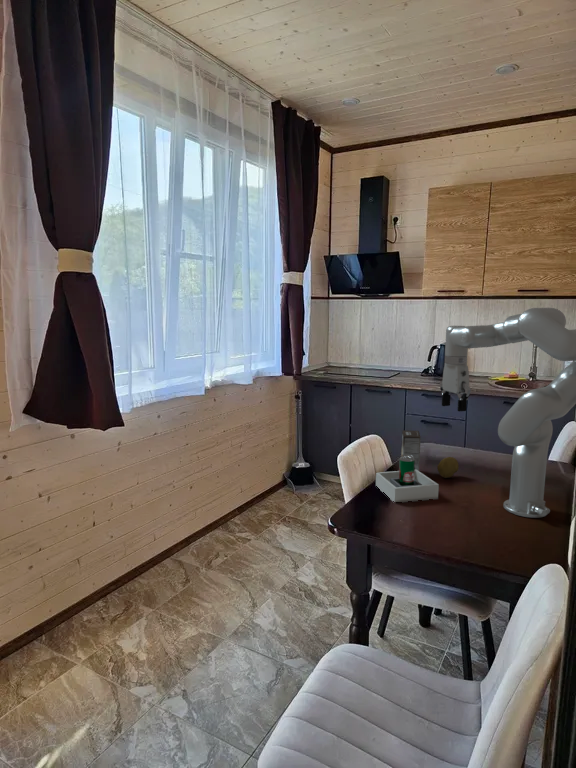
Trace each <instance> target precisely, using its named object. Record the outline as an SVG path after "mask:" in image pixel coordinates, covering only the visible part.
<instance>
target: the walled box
mask: <svg viewBox="0 0 576 768" xmlns="http://www.w3.org/2000/svg"><path fill="white" fill-rule="evenodd" d="M376 486H377V487H378V488H379V489H380V492H382V493H383V492H384V493H385V494H386V495H387V496H388V497H389V498H390V501H392V502H393V501H394V502H402V503H408V501H412V502H419V501H418V500H422V501H430V500H429V499H433V500H439V489H440V487H439V483H437V482H436V481H434V480H432V479H431V478H430V477H428V476H427V475H425V474H424V473H423V472H421V471H420V470H419V471H418V470H414V485H408V486H401V485H400V484H399V470H397V471H396V470H394V471H393V470H392V471H383V472H381V471H380V472H376V473H375V487H376ZM377 487H376V488H377ZM378 488H377V489H378ZM384 493H383V494H384ZM385 494H384V495H385ZM386 495H385V496H386ZM387 496H386V497H387ZM388 497H387V498H388ZM389 498H388V499H389ZM394 502H393V503H394Z"/></svg>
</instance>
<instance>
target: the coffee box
mask: <svg viewBox="0 0 576 768" xmlns="http://www.w3.org/2000/svg"><path fill="white" fill-rule="evenodd" d="M421 439H422V436H421V433H420V431H419V430H407V429H406V430H403V429H402V430H401V453H400V454H401V455H411V456H413V457H414V460H415V469H414V470H418V471H419V472H420V458H421V457H420V456H421ZM401 455H400V456H401Z"/></svg>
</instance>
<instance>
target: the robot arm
mask: <svg viewBox="0 0 576 768" xmlns="http://www.w3.org/2000/svg"><path fill="white" fill-rule="evenodd" d="M566 325H567V319H566V316H565V314H564V313H563V311H562V310H560V309H559V308H558V309H557V308H555V307H532V308H531V307H530V308H528V309H526V310H524V311H523V312H522V313H519V314H514V315H513V314H512V315H510V316H507V317H506V318H505V320H504V322H499V323H493V324H485V325H482V324H481V325H467V326H465V325H450V326H449V325H448V326H447V327H446V328H445V331H446V332H445V346H444V347H445V349H444V365H443V366H444V367H443V373H442V380H441V381H440V382H439V387H440V394H441V406H442V407H449V406H451V393H452V394H456V395H457V397H458V399H457V412H467V404H468V400H469V398H470V396H471V395H470V394H471V393H472V388H471V387H470V371H469V365H468V350H469V349H479V348H492V347H497V346H503V345H509V344H516V343H521V342H522V343H523V342H526V341H527V342H528V341H529V342H530V343H531V344H533V345H534V346H536V347H537V348H539V349H540V350H541V351H542V352H544V353H545V354H547V355H548V356H550V357H551V358H553V359H555V360H558V361H560V362H571V363H570V364H568V365H567V366H566V367H565V368H564V369H562V370H561V371H560V372H559V373H558V375H557V376H556V377H555V378H554V379H553V380H552V381H551V382H550V383H549V384H548V385H547V386H544V387H538V388H534V389H530V390H528V391H527V392H524V393H523V394H522V395H521V396H520V397H518V399H517V400H516V401H515V403H514V404H513V405H512V406H511V407H510V409H509V410H508V411H506V413H505V414H504V416H503V417H502V418H501V419H500V421H499V423H498V427H497V434H498V437H499V439H500V440H501V442H503V444H505V445H507V446H509V447H514V448H513V452H512V461H511V472H510V474H511V475H510V487H509V497H508V498H509V499H507V500H505V501H504V502H503V508H504V509H505V510H506V511H507V512H509V513H511V514H513V515H516V516H519V517H525V518H535V519H537V518H539V519H540V518H543V517H546V516H547V515H548V514H550V512H551V509H550V508H549V507H547V506H546V501H545V500H544V495H545V484H546V473H547V465H548V464H547V463H548V452H549V447H550V443H551V440H552V436H553V429H554V427H553V422H552V420H556V419H560V418H563V417H564V416H565V415H567V414H568V413H569V411H571V409H572V408H573V407H575V405H576V329H568V328H567V327H566Z"/></svg>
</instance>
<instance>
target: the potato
mask: <svg viewBox="0 0 576 768" xmlns="http://www.w3.org/2000/svg"><path fill="white" fill-rule="evenodd" d="M459 467H460V466H459V462H458V460H457V459H456V458H455V457H453V456H447V457H444V458H442V459H441V460H440V462H439V463H437V472H438V474H439V476H441V477H442V478H444V479H447V478H452V477H453V476H454V474H456V473H457V472H458V471H459Z"/></svg>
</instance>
